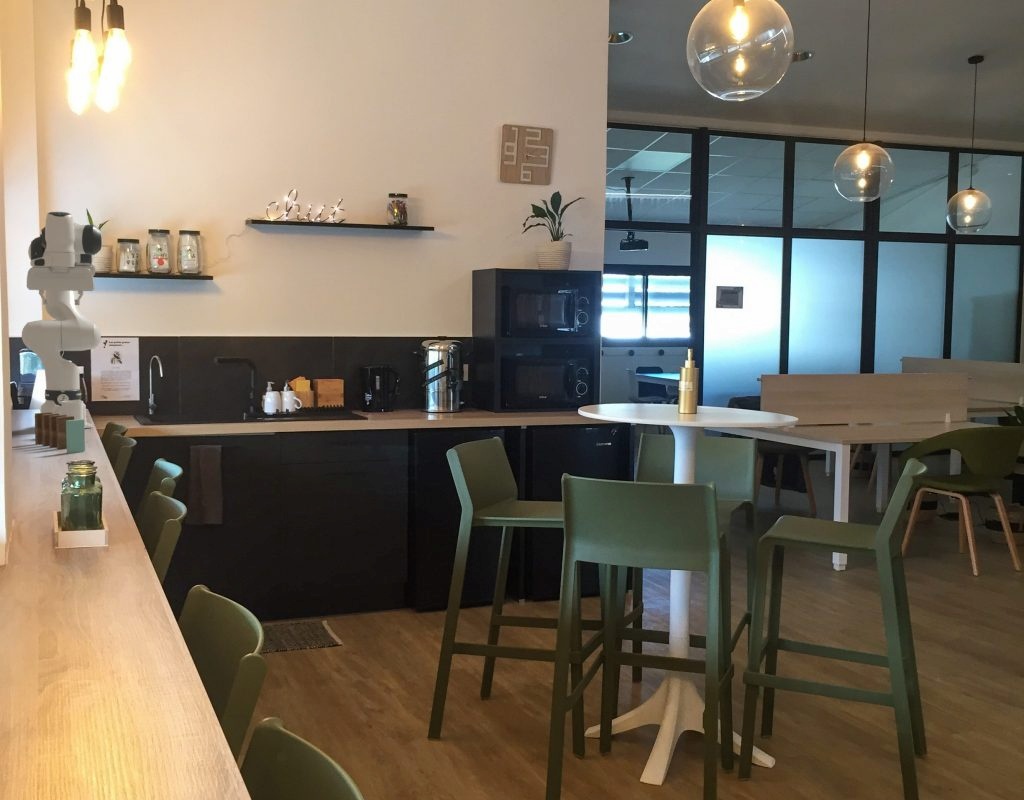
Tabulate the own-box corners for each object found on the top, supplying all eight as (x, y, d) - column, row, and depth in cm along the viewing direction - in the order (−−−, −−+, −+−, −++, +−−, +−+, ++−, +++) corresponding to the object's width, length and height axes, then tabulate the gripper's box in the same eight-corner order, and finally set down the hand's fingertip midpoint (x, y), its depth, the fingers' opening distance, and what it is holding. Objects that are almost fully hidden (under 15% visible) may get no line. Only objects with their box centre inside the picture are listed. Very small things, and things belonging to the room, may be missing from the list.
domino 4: (57, 448, 321) (56, 417, 320) (72, 447, 324) (71, 415, 323) (59, 449, 320) (58, 417, 319) (74, 447, 323) (74, 416, 322)
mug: (84, 434, 353) (83, 400, 352) (83, 437, 347) (83, 402, 345) (52, 435, 349) (51, 400, 348) (51, 438, 343) (50, 402, 342)
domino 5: (66, 452, 313) (66, 420, 312) (82, 451, 317) (81, 419, 316) (69, 453, 312) (68, 421, 311) (84, 451, 316) (84, 419, 315)
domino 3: (49, 447, 323) (48, 415, 322) (64, 445, 327) (64, 414, 326) (52, 447, 322) (51, 416, 321) (67, 446, 326) (66, 415, 325)
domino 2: (42, 445, 326) (41, 414, 325) (57, 444, 330) (56, 413, 329) (45, 446, 325) (44, 415, 324) (60, 444, 329) (59, 413, 328)
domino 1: (35, 444, 329) (34, 413, 328) (50, 442, 333) (49, 412, 332) (37, 444, 328) (37, 413, 327) (52, 443, 332) (52, 412, 331)
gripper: (95, 263, 336) (96, 305, 337) (27, 261, 330) (29, 304, 331) (94, 262, 330) (95, 305, 331) (25, 260, 324) (26, 304, 325)
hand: (61, 304), depth 331 cm, fingers open, 8 cm apart
